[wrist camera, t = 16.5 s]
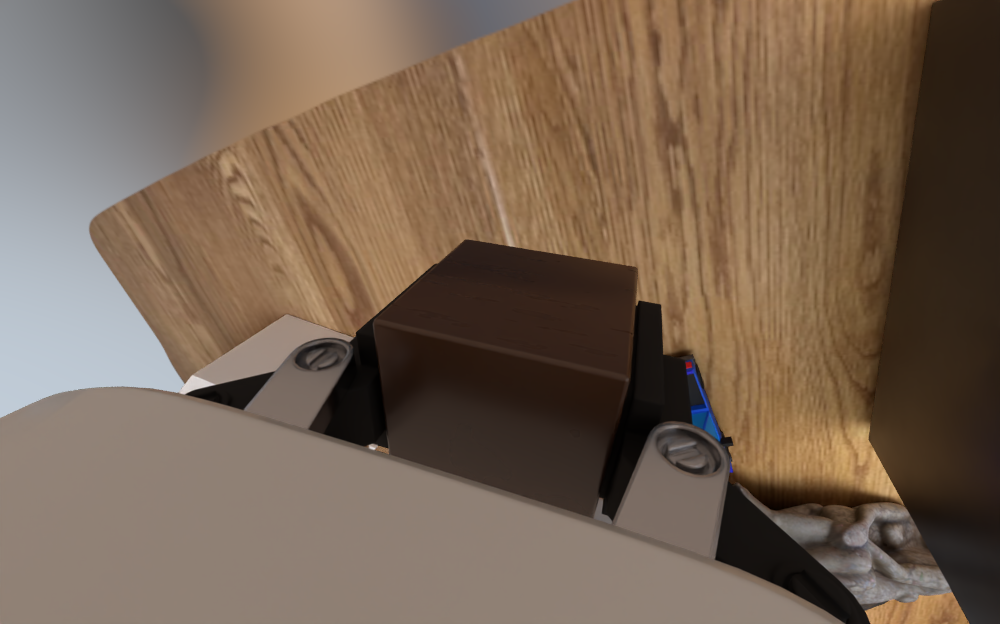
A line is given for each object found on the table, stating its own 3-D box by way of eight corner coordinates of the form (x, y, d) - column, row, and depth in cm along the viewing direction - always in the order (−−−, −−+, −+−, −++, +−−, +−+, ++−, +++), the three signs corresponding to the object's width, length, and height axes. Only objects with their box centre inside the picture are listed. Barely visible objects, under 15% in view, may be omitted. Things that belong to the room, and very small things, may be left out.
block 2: (465, 237, 11) (369, 320, 8) (639, 266, 10) (631, 380, 6) (464, 370, 14) (391, 485, 10) (606, 405, 13) (585, 549, 9)
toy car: (666, 456, 43) (668, 497, 39) (625, 363, 39) (622, 397, 35) (738, 448, 40) (748, 491, 36) (700, 346, 36) (707, 380, 32)
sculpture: (917, 439, 40) (940, 557, 40) (714, 462, 44) (736, 568, 44) (1035, 501, 29) (1065, 662, 29) (751, 523, 33) (780, 662, 34)
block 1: (193, 327, 56) (91, 382, 46) (409, 296, 43) (333, 364, 33) (257, 426, 63) (181, 494, 53) (460, 427, 50) (411, 517, 40)
